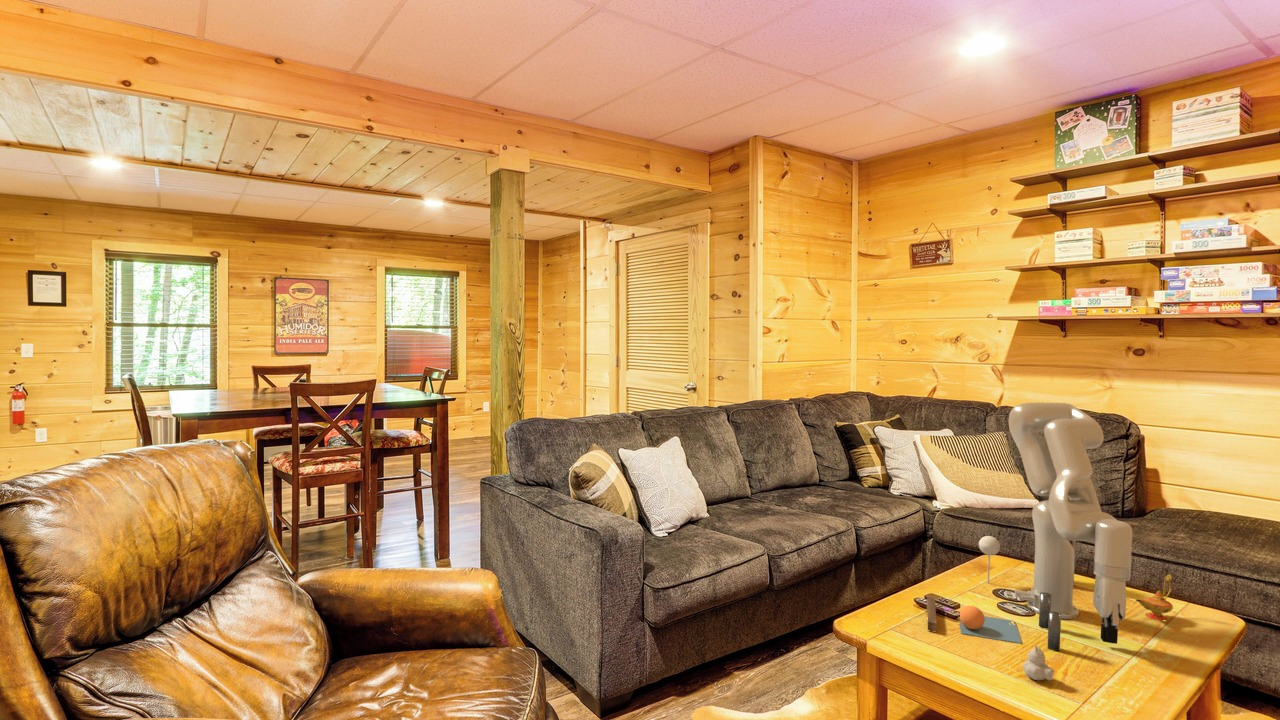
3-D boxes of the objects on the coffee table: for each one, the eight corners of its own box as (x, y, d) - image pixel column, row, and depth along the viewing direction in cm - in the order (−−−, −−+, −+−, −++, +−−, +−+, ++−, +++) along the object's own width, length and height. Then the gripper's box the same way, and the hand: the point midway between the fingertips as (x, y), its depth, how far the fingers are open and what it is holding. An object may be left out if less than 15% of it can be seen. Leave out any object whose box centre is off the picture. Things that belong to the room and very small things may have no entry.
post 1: (1039, 628, 177) (1040, 595, 176) (1038, 624, 179) (1039, 591, 179) (1050, 629, 176) (1052, 596, 175) (1049, 625, 178) (1050, 593, 178)
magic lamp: (1122, 620, 182) (1124, 581, 182) (1155, 607, 191) (1157, 570, 190) (1150, 630, 176) (1152, 589, 176) (1184, 616, 185) (1186, 578, 184)
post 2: (1048, 649, 165) (1049, 614, 164) (1046, 645, 167) (1047, 610, 167) (1060, 651, 164) (1062, 616, 163) (1058, 647, 166) (1060, 612, 166)
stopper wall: (927, 631, 174) (928, 622, 174) (927, 605, 191) (927, 596, 191) (936, 632, 174) (936, 623, 174) (934, 606, 190) (934, 597, 190)
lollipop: (990, 588, 204) (992, 540, 203) (973, 581, 209) (974, 535, 208) (1003, 584, 207) (1004, 537, 206) (985, 578, 212) (987, 532, 211)
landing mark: (960, 633, 173) (960, 632, 173) (957, 612, 186) (958, 611, 186) (1021, 643, 168) (1021, 643, 168) (1014, 621, 181) (1014, 620, 181)
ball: (958, 610, 175) (983, 608, 173) (956, 603, 180) (980, 602, 178) (963, 633, 174) (988, 632, 172) (960, 626, 180) (985, 624, 178)
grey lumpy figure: (1030, 670, 155) (1032, 636, 155) (1060, 683, 149) (1061, 649, 149) (1017, 675, 152) (1018, 642, 152) (1046, 689, 147) (1047, 654, 146)
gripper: (1087, 558, 174) (1084, 626, 175) (1101, 578, 160) (1098, 651, 161) (1121, 562, 171) (1118, 631, 172) (1139, 582, 157) (1135, 658, 158)
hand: (1108, 641), depth 166 cm, fingers closed
